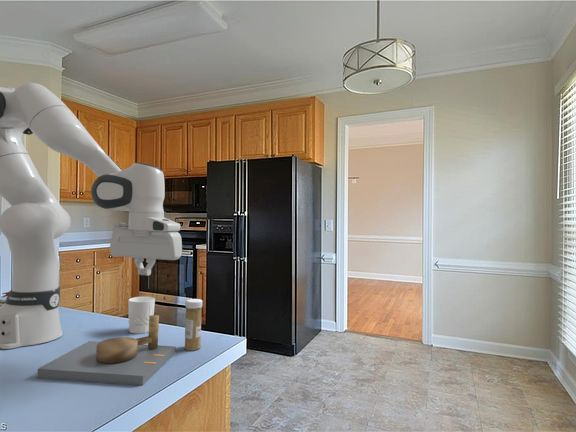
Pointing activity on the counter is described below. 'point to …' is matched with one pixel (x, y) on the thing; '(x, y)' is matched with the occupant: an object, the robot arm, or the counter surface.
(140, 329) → the white cup
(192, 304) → the sprinkles bottle
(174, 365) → the counter surface
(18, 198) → the robot arm
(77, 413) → the counter surface
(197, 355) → the counter surface
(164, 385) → the counter surface
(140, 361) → the stand
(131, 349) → the dial
